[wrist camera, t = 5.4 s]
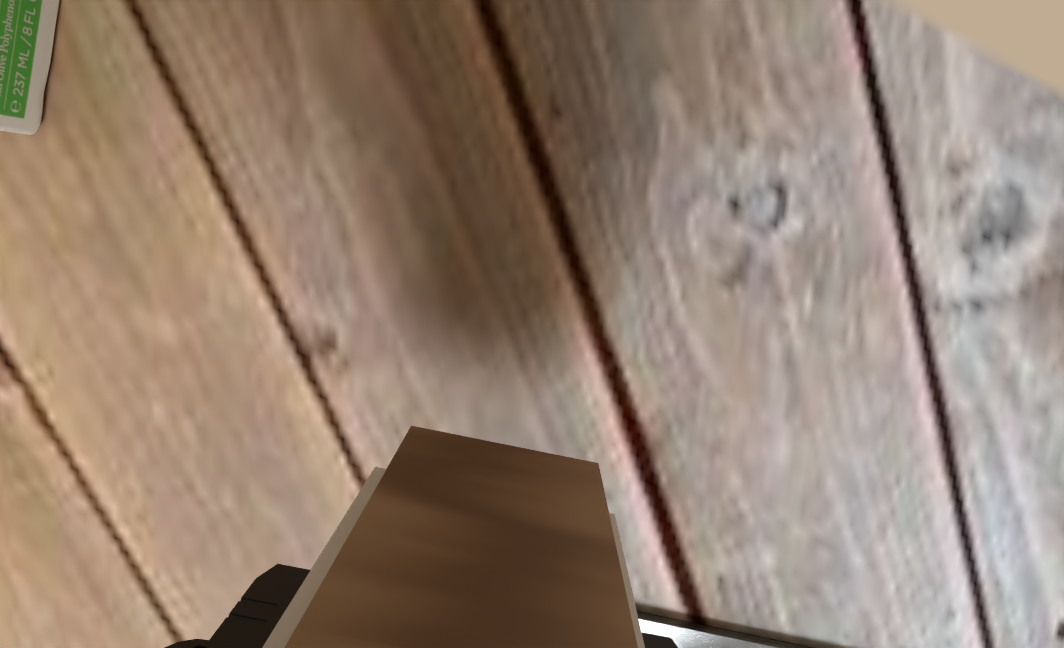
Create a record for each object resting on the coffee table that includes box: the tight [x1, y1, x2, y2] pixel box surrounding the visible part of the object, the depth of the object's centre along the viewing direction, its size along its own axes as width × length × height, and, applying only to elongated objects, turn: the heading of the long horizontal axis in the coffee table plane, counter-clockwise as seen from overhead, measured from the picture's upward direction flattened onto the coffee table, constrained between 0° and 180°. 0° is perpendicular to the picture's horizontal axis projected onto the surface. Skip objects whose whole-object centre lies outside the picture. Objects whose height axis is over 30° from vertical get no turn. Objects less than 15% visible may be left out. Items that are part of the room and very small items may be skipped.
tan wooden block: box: [285, 426, 638, 648], centre depth 11 cm, size 5×5×8 cm
